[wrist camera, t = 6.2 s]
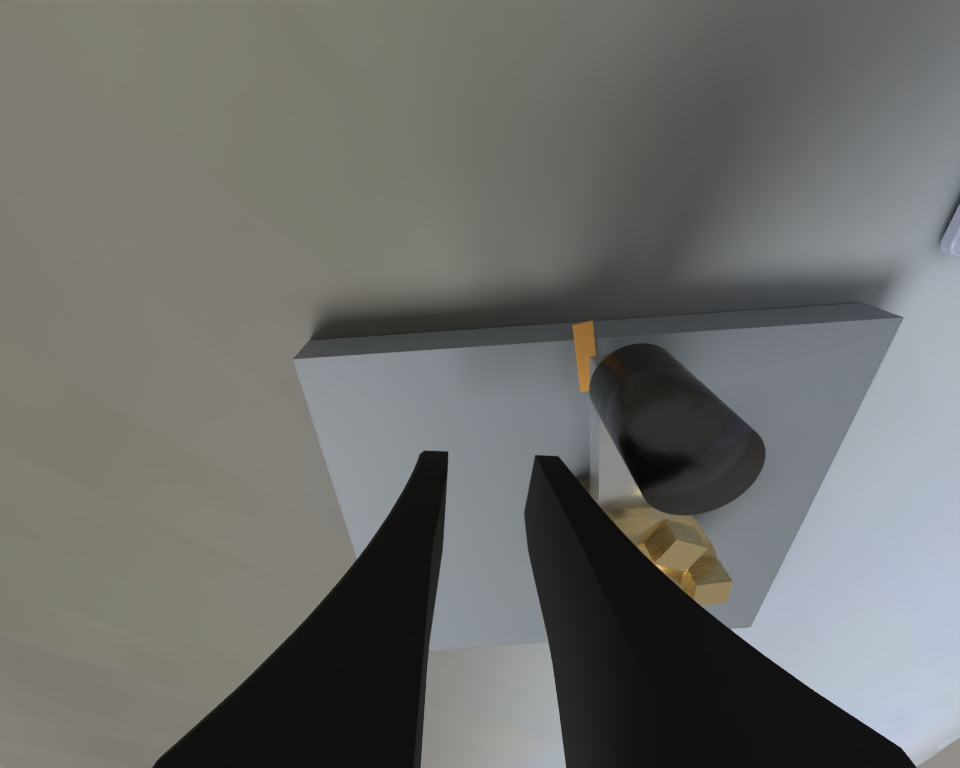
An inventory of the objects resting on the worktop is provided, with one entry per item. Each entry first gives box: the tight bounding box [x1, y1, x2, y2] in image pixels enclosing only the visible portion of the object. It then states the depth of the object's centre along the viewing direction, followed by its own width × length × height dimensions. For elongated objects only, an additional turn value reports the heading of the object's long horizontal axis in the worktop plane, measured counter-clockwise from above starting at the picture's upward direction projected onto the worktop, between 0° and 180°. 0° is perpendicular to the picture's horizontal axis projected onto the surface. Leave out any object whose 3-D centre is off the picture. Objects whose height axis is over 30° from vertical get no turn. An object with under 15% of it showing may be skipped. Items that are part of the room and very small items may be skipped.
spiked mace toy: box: [540, 343, 766, 625], centre depth 12 cm, size 12×6×5 cm, turn 8°
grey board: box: [293, 303, 904, 651], centre depth 17 cm, size 19×18×2 cm
